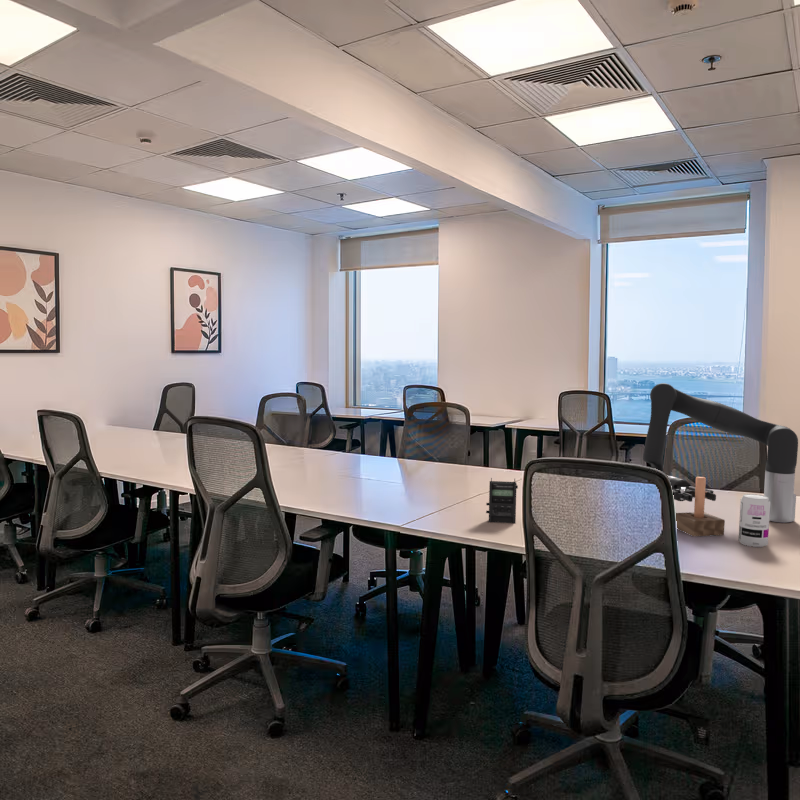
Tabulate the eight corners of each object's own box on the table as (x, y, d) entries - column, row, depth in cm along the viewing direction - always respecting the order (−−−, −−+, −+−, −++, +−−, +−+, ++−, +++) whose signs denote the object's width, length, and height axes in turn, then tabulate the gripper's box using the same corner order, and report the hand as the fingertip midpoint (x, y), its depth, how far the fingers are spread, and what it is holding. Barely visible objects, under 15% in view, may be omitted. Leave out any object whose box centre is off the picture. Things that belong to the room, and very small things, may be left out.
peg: (699, 529, 233) (702, 476, 231) (705, 532, 230) (707, 478, 228) (691, 530, 232) (693, 476, 231) (696, 532, 229) (699, 478, 228)
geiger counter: (485, 522, 238) (486, 479, 237) (486, 519, 243) (487, 476, 241) (516, 524, 237) (518, 480, 236) (516, 521, 241) (517, 478, 240)
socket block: (703, 526, 237) (703, 511, 237) (723, 535, 227) (724, 520, 226) (673, 527, 235) (674, 513, 235) (693, 536, 225) (694, 521, 224)
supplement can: (755, 539, 222) (758, 493, 220) (773, 547, 214) (776, 499, 212) (732, 540, 220) (735, 493, 219) (750, 548, 212) (752, 499, 211)
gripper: (656, 477, 243) (684, 487, 227) (693, 477, 245) (723, 486, 229) (655, 499, 243) (683, 510, 227) (692, 498, 246) (722, 508, 230)
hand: (703, 498), depth 228 cm, fingers open, 8 cm apart
